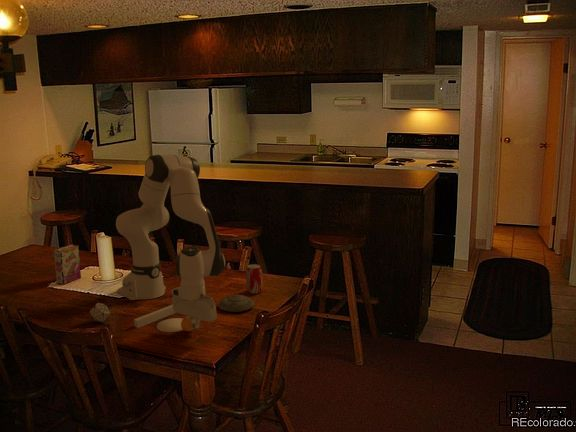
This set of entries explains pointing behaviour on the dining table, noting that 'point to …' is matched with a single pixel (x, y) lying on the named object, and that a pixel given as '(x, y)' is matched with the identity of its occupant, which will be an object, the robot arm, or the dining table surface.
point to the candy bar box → (67, 264)
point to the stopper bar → (154, 316)
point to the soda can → (254, 278)
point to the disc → (170, 325)
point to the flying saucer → (236, 303)
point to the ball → (186, 324)
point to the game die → (100, 312)
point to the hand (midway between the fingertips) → (195, 327)
